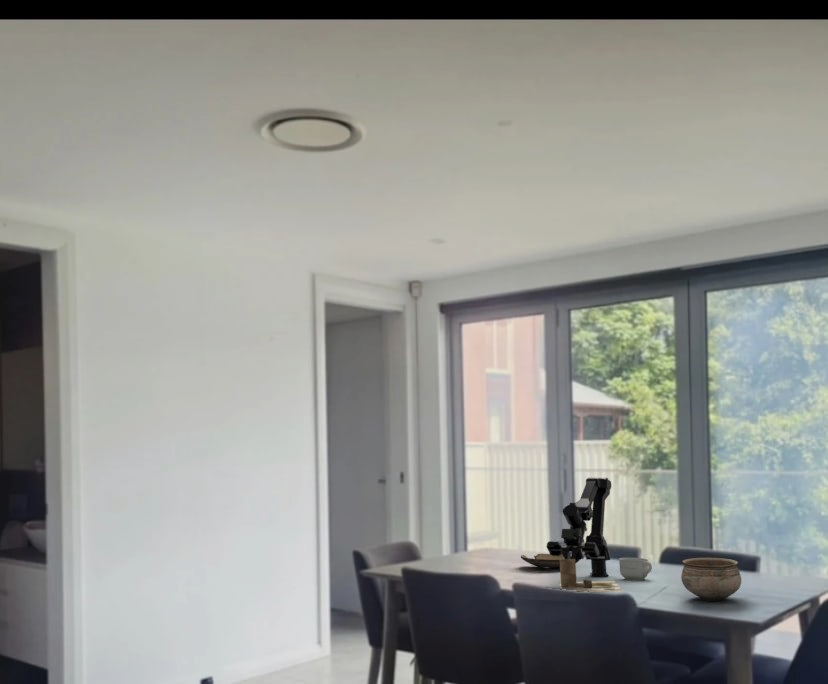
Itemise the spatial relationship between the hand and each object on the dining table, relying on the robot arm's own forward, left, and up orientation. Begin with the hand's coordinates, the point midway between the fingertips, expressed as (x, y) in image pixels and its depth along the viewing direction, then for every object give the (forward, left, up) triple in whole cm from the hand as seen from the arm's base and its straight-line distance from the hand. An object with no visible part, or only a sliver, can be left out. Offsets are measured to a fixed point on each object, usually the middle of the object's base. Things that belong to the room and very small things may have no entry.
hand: (568, 568), depth 294 cm
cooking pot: (+19, +46, -8) cm, 50 cm away
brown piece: (+1, +7, -7) cm, 10 cm away
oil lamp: (-53, -3, -8) cm, 54 cm away
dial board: (-1, +7, -8) cm, 11 cm away
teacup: (-18, +27, -8) cm, 33 cm away
